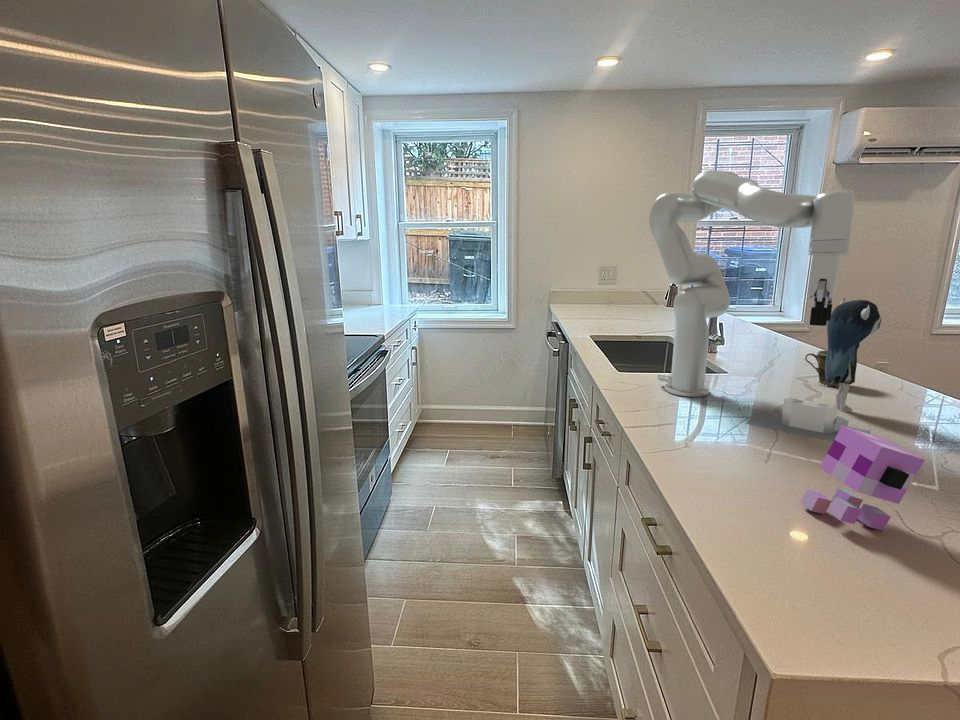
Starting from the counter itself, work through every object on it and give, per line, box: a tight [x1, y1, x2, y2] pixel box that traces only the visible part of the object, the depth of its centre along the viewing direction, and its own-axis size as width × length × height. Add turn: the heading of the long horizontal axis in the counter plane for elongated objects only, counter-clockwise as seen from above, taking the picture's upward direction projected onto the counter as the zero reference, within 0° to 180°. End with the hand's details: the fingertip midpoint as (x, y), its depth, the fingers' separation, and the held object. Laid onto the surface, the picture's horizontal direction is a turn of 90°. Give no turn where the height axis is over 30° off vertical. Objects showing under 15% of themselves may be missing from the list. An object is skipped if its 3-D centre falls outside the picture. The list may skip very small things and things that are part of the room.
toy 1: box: [824, 297, 882, 413], centre depth 131 cm, size 14×11×30 cm
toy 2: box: [800, 426, 925, 531], centre depth 82 cm, size 11×8×15 cm
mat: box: [746, 409, 870, 442], centre depth 123 cm, size 24×13×1 cm, turn 50°
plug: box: [781, 397, 850, 433], centre depth 121 cm, size 13×4×6 cm, turn 51°
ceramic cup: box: [804, 350, 840, 388], centre depth 159 cm, size 13×10×10 cm
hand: (820, 322), depth 118 cm, fingers open, 9 cm apart
